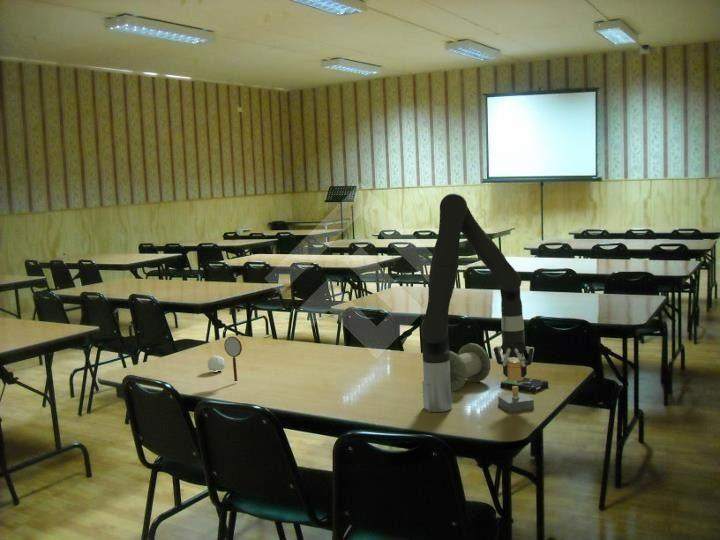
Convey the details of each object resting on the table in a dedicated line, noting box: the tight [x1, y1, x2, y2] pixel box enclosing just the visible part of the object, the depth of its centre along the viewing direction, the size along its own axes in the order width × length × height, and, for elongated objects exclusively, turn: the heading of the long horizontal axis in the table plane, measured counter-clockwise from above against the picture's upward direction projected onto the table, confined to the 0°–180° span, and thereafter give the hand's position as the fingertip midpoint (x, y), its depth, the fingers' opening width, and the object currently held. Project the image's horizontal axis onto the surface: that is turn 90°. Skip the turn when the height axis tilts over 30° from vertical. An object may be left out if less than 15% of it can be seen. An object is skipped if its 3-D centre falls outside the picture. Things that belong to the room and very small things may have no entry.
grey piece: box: [497, 386, 535, 413], centre depth 257 cm, size 9×9×7 cm
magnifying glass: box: [224, 336, 243, 382], centre depth 311 cm, size 9×2×20 cm, turn 62°
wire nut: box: [506, 359, 523, 381], centre depth 256 cm, size 5×5×6 cm
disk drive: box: [499, 377, 549, 394], centre depth 280 cm, size 10×3×15 cm
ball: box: [207, 355, 226, 371], centre depth 333 cm, size 8×8×8 cm
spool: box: [449, 342, 491, 392], centre depth 287 cm, size 16×15×15 cm
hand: (515, 376), depth 256 cm, fingers closed on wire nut, 5 cm apart
